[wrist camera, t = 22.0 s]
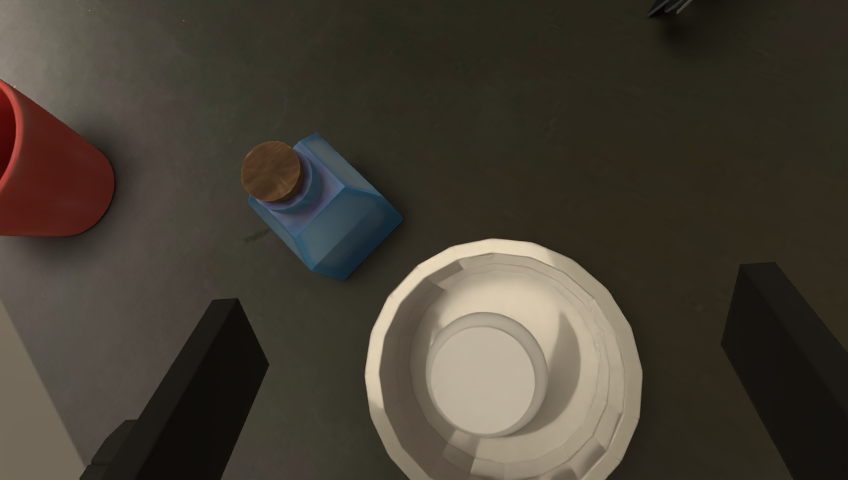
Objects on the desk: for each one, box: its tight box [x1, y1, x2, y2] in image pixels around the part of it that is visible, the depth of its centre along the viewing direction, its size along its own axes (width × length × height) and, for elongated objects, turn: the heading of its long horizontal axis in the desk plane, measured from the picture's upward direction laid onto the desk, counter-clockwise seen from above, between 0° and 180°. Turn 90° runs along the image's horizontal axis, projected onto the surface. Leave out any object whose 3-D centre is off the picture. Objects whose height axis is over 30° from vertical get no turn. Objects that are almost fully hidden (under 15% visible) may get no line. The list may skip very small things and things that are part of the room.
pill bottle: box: [426, 312, 548, 438], centre depth 28 cm, size 6×6×11 cm
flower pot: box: [0, 79, 114, 237], centre depth 37 cm, size 11×11×10 cm
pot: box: [365, 238, 643, 480], centre depth 29 cm, size 14×14×8 cm
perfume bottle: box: [241, 132, 404, 281], centre depth 31 cm, size 6×6×12 cm
